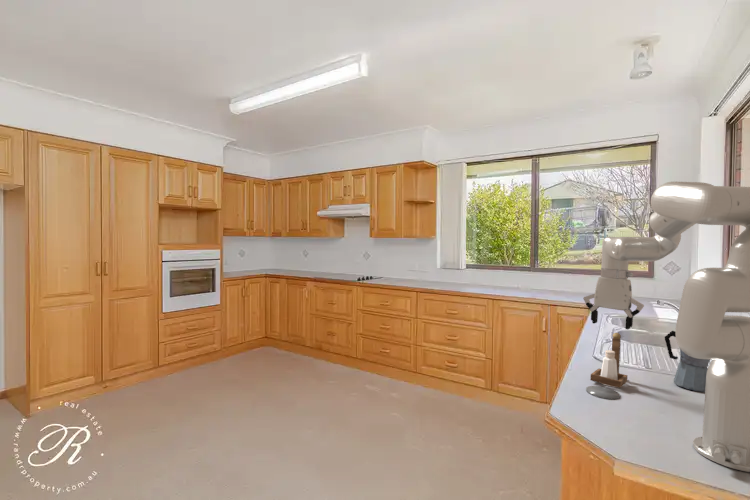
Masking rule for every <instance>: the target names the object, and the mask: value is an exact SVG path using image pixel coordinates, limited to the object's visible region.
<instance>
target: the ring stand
mask: <svg viewBox="0 0 750 500" xmlns="http://www.w3.org/2000/svg"><path fill="white" fill-rule="evenodd" d="M621 337H622V335H621V334H620V333H619V332H614V333H612V343H611V351H614V352H615V359H616V362H617V377H618V380H614V379H610V378H606V377H603V376H600V375H601V369H602V368H597V369H596V370H594V371H593V372H592V373H590V381H592V382H596V383H600V384H601V383H603V384H607V385H611V386H614V387H613V388H618V389H621V388H622V387H623V386H624V385H625V384H626V383H627V382H628V375H627V374H623V373H620V360H621V340H622V339H621ZM603 384H602V385H603ZM611 386H610V387H611Z"/></svg>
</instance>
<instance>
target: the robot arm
mask: <svg viewBox="0 0 750 500" xmlns="http://www.w3.org/2000/svg"><path fill="white" fill-rule="evenodd" d="M650 207H651V209H652V210H653V212H652V213H651V214H650V216H649V221H648V222H649V227H650V228H651V229H652V231H653V232H654V233H655V234H656V235H654V236H650V237H649V236H648V237H647V236H608V237H607V236H606V237H605V238H603V240H602V248H601V263H600V265H601V266H600V267H601V268H600V276H599V277H597V282H596V285H595V291H594V293H592V294H589V295H586V296H584V297H583V301H584V303H585V306H586V307H587V308H588V309H589V311H590V314H591V315H590V320H591V321H592V324H597V323H598V319H599V318H598V317H599V311H598V309H599V308H601V309H602V308H603V309H610V310H617V311H623V312H624V313H625V314H626V315H627V316H626V317H625V325H624V326H625V327H624V328H625V330H630V329H631V328H632V327H633V325H634V324H633V322H634V316H636V315H638V314H639V313H641V311H642V310H643V309H644V307H645V305H644V304H643V303H642V302H640V301H638V300H636V299H635V298H633V296H632V295H633V291H632V282H631V279H628V278H630V277H632V278H633V276H634V273H633V272H631V271H630V270H629V262H649V263H650V262H656V261H659V260H662V259H664V258H666V257H667V256H668V255H670V254H672V253H673V252H674V251H675V250H676V249H677V248H678V247H679V245H680V243H681V239H682V234H683V233H685V232H686V231H688V230H689V229H690V228H691V227H693V226H695V225H696V224H697V225H706V226H743V227H745V229H744V230H743V231H742V232H741V233H740V234H739V235H737V237H736V238H735V240H734V241H733V242H732V244H731V246H730V249H729V252H728V258H727V262H726V264H725V266H724V267H704V268H701V269H698V270H696V271H694V272H693V273H692V274H690V275H689V276H688V278H687V279H686V281H685V283H684V285H683V288H682V289H683V290H682V293H681V298H680V303H679V309H678V314H677V318H676V324H675V332H676V337H675V340H676V344H677V346H678V347H679V350H680V349H681V350H682V351H683V352H684V353H685V354H686V355H688V356H690V357H693V358H697V359H710V362H709V364H708V366H707V368H708V370H707V374H706V386H705V392H704V404H703V405H704V406H703V407H704V408H703V420H702V436H697V437H696V438H693V440H692V441H693V442H692V446H693V448H694V449H695V450H696V452H697V453H699V454H700V455H701V456H703V457H705V458H707V460H710V461H712V462H714V463H717V464H719V465H721V466H724V467H727V468H729V469H733V470H738V471H741V472H747V473H750V317H749V316H744V315H731V314H730V315H725V314H726V313H747V314H748V313H750V186H728V185H725V186H724V185H714V184H712V183H708V182H701V181H668V182H665V183H663V184H660V185H659V186H658V187H657V188H656V189H655V190H654V191H653V193H652V195H651V198H650ZM591 299H592V300H593V304H592V302H591ZM632 305H635V306H636V308H635V310H633V311H632V309H631V308H632Z"/></svg>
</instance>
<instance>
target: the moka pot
mask: <svg viewBox="0 0 750 500" xmlns="http://www.w3.org/2000/svg"><path fill="white" fill-rule="evenodd" d="M671 337H674V338H676V330H675V331H674V330H671V331H670V332H669V333H667V334H666V335H665V336H664V341H665V345H666V349H667V353H668V356H669V358H670V359H672V360H678V359H679V363H678V365H677V368H676V372H675V374H674V378H673V383H674V384H675V385H676V386H678V387H681V388H684V389H687V390H690V391H694V392H695V391H696V392H702V393H705V386H706V374H707V370H708V367H709V364H710V363H711V359H697V358H693V357H690V356H688V355H686V354H685V353H684V352H683V351H682V350H681V349H680V348H679V353H680V354H679V355H680V356H675V355H674V353H673V351H672V345H671V340H670V338H671ZM679 357H680V358H679Z"/></svg>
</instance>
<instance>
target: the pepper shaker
mask: <svg viewBox="0 0 750 500" xmlns="http://www.w3.org/2000/svg"><path fill="white" fill-rule="evenodd" d="M604 353H605V356H603V359H602V363H601V364H602V366H601V368H600V369H601V375H600V376H603V377H606V378H610V379H614V380H618V377H617V362H616V359H615V352H614V351H612V349H610V350H609V349H606V350H605V351H604ZM600 384H601V385H603V386H605V387H612V388H615V387H614V386H611V385H607V384H603V383H600Z"/></svg>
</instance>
